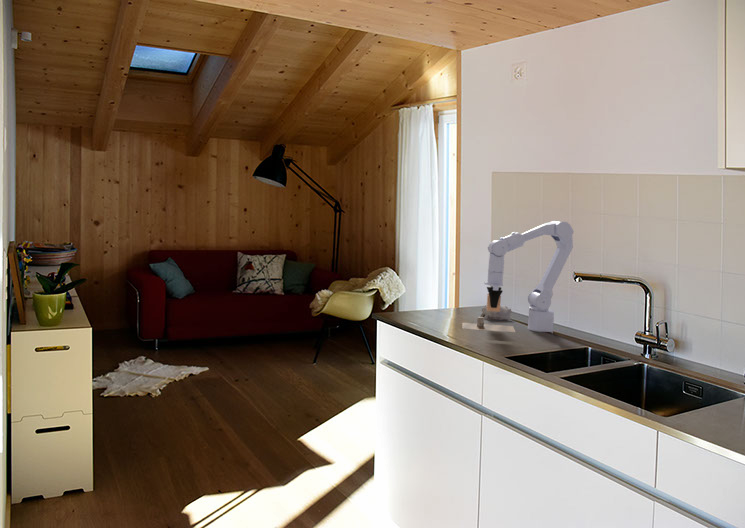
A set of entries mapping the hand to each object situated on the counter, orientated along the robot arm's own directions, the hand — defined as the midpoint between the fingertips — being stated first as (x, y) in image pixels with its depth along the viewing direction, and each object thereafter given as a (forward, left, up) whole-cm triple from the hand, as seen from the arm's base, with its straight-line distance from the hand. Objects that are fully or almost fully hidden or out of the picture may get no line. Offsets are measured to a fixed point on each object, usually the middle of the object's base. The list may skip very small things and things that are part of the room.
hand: (493, 306), depth 248 cm
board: (+1, -1, -10) cm, 10 cm away
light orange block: (0, 0, -2) cm, 2 cm away
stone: (-2, -22, -10) cm, 24 cm away
